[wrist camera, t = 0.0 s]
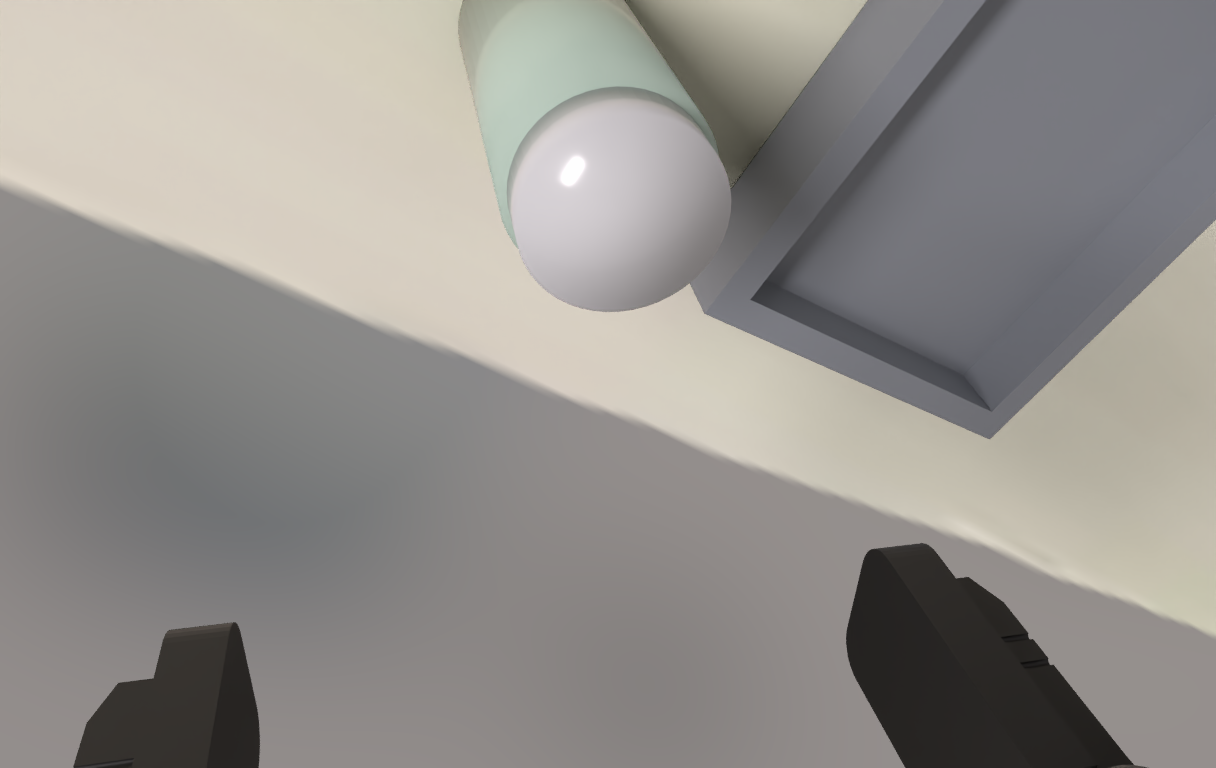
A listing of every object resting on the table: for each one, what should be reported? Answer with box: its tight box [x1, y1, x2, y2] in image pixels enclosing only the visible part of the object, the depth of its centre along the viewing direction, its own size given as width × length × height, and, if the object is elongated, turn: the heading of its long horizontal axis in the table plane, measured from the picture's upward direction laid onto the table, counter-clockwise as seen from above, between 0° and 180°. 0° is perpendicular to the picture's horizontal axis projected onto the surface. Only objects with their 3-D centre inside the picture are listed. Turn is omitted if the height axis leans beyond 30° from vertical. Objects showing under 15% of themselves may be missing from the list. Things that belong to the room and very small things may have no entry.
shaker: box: [458, 0, 731, 312], centre depth 25 cm, size 5×5×12 cm
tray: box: [690, 0, 1216, 439], centre depth 34 cm, size 20×16×4 cm
